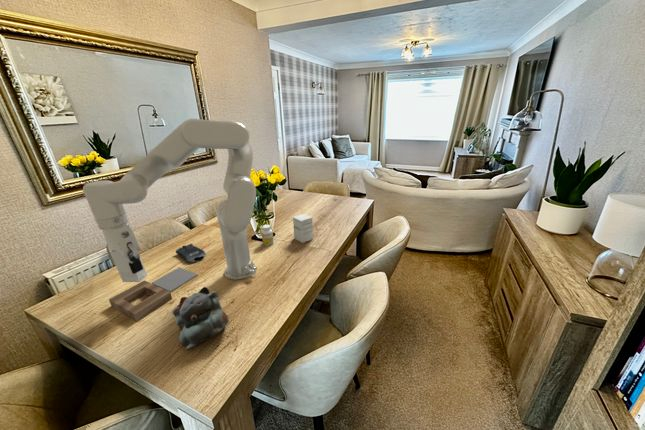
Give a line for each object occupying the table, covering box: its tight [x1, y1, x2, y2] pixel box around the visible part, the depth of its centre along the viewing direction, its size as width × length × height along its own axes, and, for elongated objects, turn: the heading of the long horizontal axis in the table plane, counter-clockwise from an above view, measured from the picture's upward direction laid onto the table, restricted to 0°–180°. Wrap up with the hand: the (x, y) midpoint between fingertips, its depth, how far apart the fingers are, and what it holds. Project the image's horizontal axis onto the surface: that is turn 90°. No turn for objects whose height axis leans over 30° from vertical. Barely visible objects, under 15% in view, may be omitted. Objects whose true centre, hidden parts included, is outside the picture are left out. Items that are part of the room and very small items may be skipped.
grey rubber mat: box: [151, 267, 199, 293], centre depth 103 cm, size 12×12×1 cm
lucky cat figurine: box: [171, 286, 230, 350], centre depth 77 cm, size 15×12×14 cm
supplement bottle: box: [261, 224, 274, 247], centre depth 128 cm, size 5×5×10 cm
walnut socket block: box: [108, 279, 173, 322], centre depth 90 cm, size 16×12×3 cm
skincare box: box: [110, 250, 148, 283], centre depth 85 cm, size 6×4×12 cm
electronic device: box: [175, 243, 207, 264], centre depth 120 cm, size 9×6×15 cm
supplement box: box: [292, 213, 314, 244], centre depth 132 cm, size 7×7×13 cm
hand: (131, 268), depth 85 cm, fingers closed on skincare box, 7 cm apart
